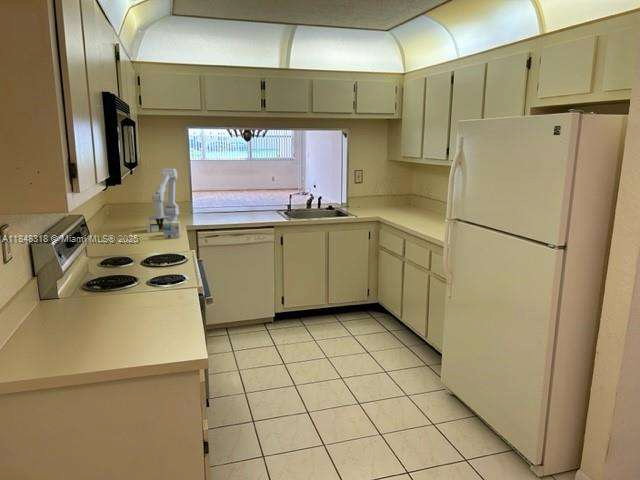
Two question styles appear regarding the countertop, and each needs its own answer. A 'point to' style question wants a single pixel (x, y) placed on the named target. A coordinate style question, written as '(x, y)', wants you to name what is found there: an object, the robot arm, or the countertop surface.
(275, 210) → the countertop surface
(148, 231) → the bookend
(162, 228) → the shelf
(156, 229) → the book
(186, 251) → the countertop surface
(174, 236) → the light bulb box
